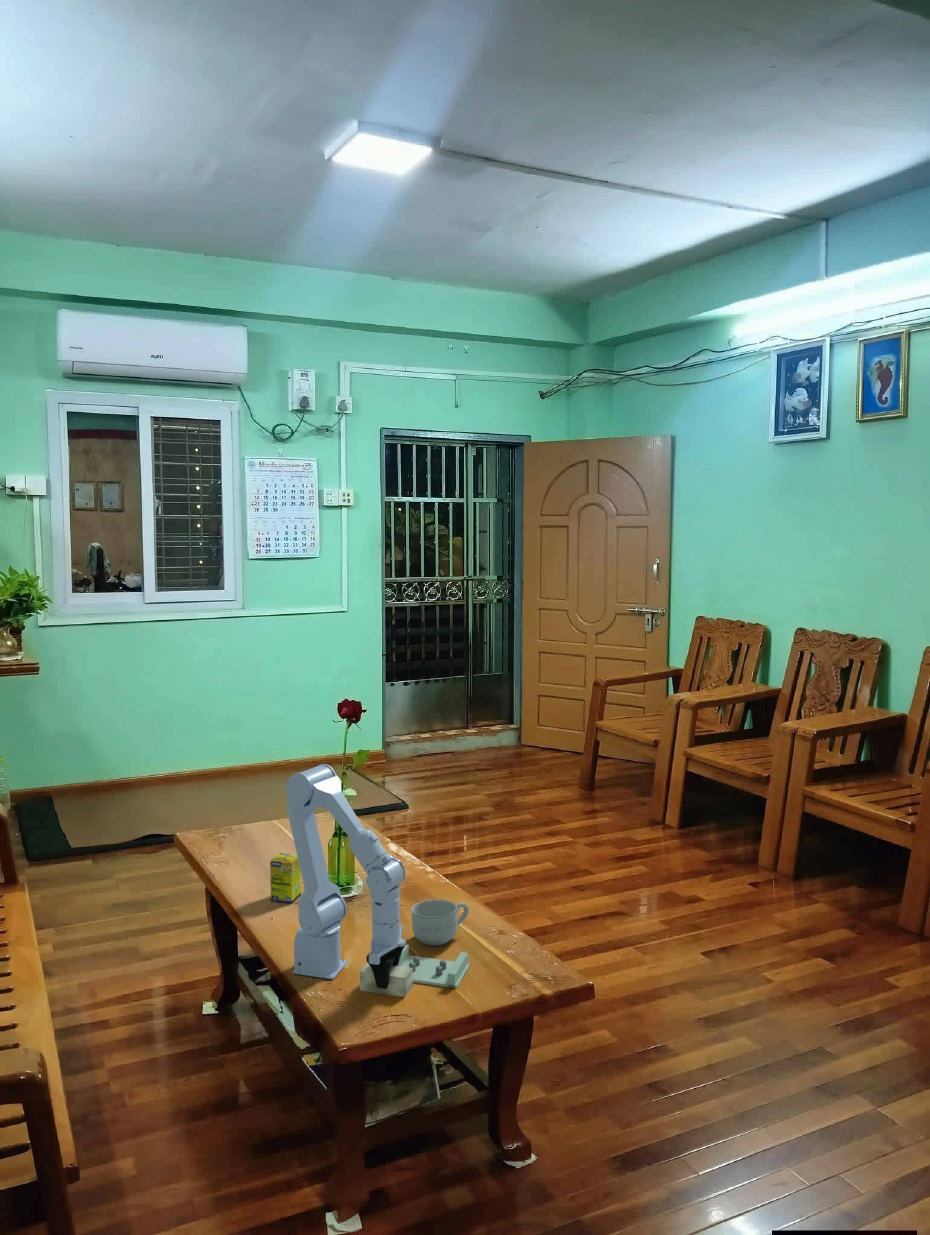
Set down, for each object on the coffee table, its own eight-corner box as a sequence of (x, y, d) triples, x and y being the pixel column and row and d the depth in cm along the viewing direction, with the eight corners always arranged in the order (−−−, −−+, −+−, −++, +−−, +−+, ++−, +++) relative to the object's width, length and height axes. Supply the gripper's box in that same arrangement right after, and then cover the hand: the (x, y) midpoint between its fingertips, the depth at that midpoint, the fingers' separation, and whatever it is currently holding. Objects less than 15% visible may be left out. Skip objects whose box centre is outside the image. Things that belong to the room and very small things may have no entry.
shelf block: (360, 990, 193) (360, 971, 193) (368, 980, 198) (367, 961, 197) (405, 997, 191) (405, 977, 190) (412, 987, 195) (412, 968, 194)
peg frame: (384, 977, 198) (384, 964, 198) (400, 956, 208) (400, 943, 208) (456, 988, 194) (456, 974, 194) (469, 966, 204) (469, 953, 203)
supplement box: (270, 902, 238) (269, 860, 236) (280, 892, 243) (279, 852, 242) (292, 904, 236) (291, 862, 235) (301, 895, 242) (300, 854, 241)
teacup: (416, 953, 210) (416, 918, 209) (406, 932, 220) (406, 899, 219) (476, 945, 214) (476, 912, 213) (463, 925, 224) (463, 893, 223)
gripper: (392, 936, 184) (392, 1001, 186) (415, 907, 198) (416, 968, 200) (358, 932, 186) (359, 996, 188) (384, 903, 200) (385, 963, 202)
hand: (386, 981), depth 194 cm, fingers closed on shelf block, 4 cm apart
